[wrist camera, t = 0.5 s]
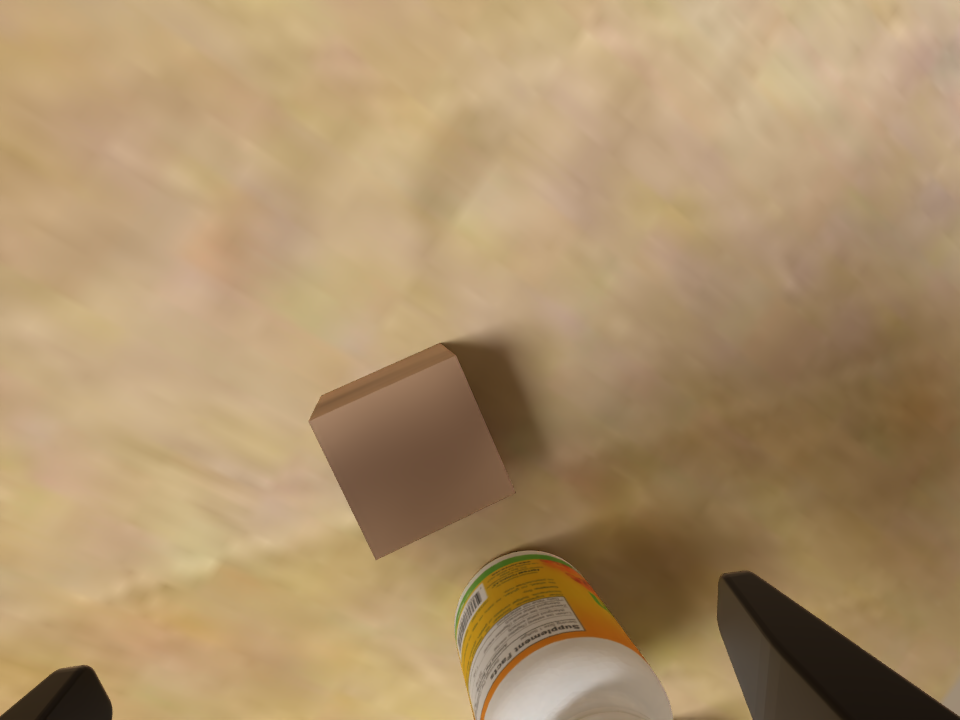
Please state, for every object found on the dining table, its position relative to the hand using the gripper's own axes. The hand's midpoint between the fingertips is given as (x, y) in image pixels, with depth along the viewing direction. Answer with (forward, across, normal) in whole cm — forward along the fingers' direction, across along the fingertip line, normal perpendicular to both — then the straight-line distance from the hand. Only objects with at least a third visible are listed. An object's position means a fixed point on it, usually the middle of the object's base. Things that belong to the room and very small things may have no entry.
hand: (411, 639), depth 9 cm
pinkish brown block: (+13, +1, +4) cm, 14 cm away
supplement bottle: (+11, -2, +12) cm, 16 cm away
